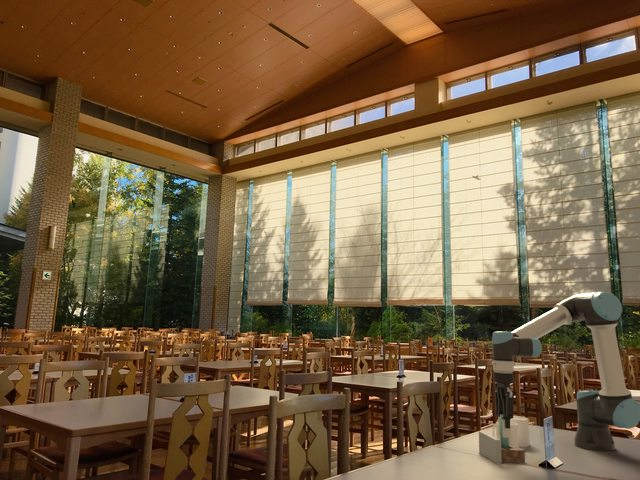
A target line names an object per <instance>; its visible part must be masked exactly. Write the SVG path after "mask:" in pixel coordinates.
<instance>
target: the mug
mask: <svg viewBox="0 0 640 480" xmlns="http://www.w3.org/2000/svg"><path fill="white" fill-rule="evenodd" d="M510 422H513V423H517V424H518V447H519V448H521V447H522V448H523V447H524V448H525V447H530V446H531V444H530V419H529V418H528V417H525V416H518V415H513V418H511V419H510Z"/></svg>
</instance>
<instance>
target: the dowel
mask: <svg viewBox="0 0 640 480" xmlns="http://www.w3.org/2000/svg"><path fill="white" fill-rule="evenodd" d="M502 417H504V416H503V414H500V440H501V448H509V437H503V422H502Z"/></svg>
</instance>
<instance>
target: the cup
mask: <svg viewBox="0 0 640 480" xmlns="http://www.w3.org/2000/svg"><path fill="white" fill-rule="evenodd" d="M510 428H511V438H509V444H513V445H515V446H517V447H518V424H517V423H513V422H510ZM492 436H494V437H496V438H498V439H500V435H499V421H496V422H495V423H494V424H493V426H492Z"/></svg>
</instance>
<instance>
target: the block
mask: <svg viewBox="0 0 640 480" xmlns="http://www.w3.org/2000/svg"><path fill="white" fill-rule="evenodd" d="M525 451H526V450H525V449H524V448H523V449H522V448H521V447H517V446H515V445H513V444H509V448H501V458H502V463H504V462H505V463H506V462H507V463H508V462H509V463H510V462H512V463H513V462H514V463H515V462H517V463H525V462H526V456H525V455H526V453H525Z"/></svg>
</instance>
